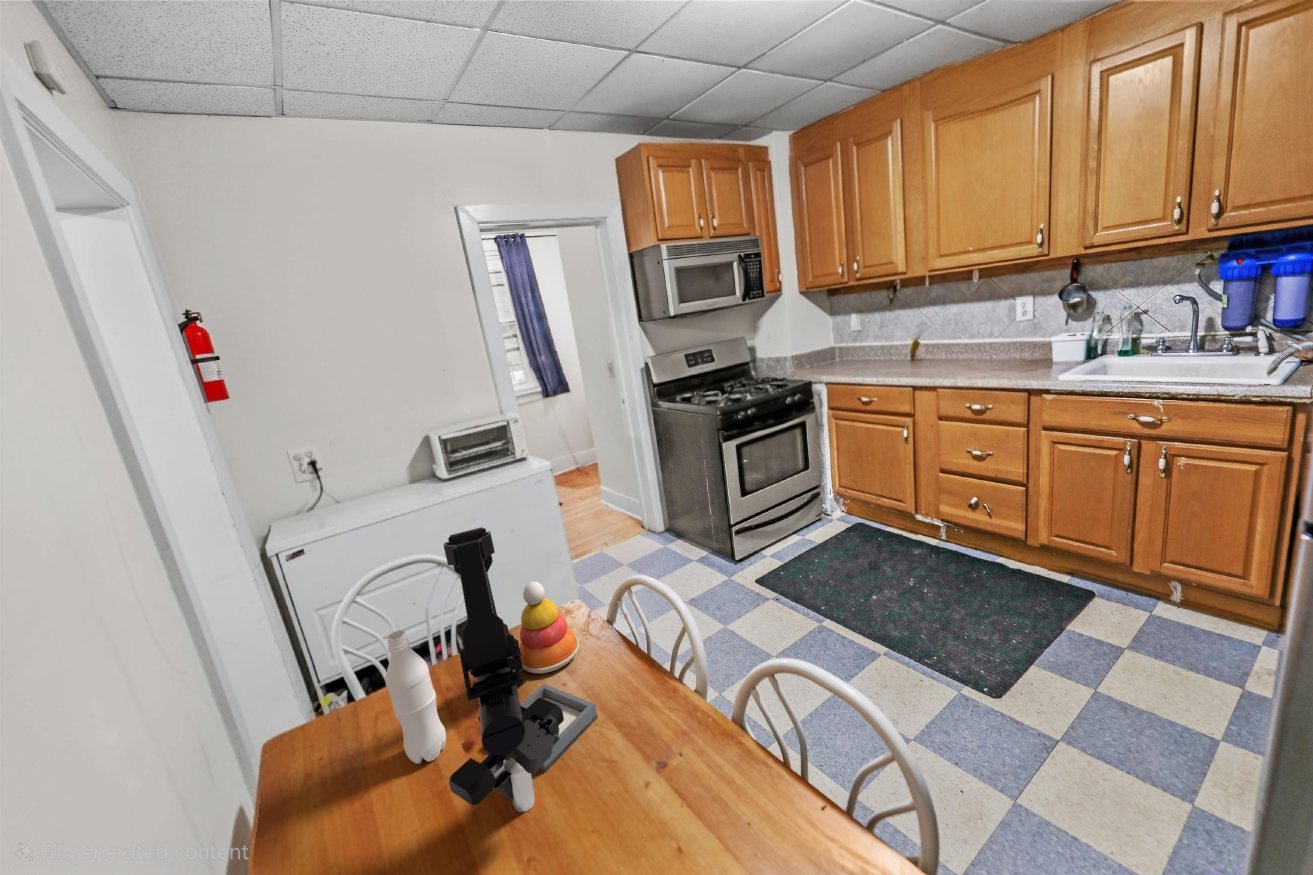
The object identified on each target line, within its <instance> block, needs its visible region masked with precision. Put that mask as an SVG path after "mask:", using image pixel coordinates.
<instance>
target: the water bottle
mask: <svg viewBox="0 0 1313 875" xmlns="http://www.w3.org/2000/svg"><path fill="white" fill-rule="evenodd" d="M386 639H387V644H388V645H387V646H388V653H390V659H389V663H388V666H387V670H386V674H385V687H386V689H387V690H388V694H389V698H390V701H391V704H392V710H393V714H394V717H395V719H397V720H398V722H399V724H400V726H401V727H400V728H401V730H402V735H403V742H402V743H403V749H404V752H405V755H406V756H407V757H408V759H409V760H410V761H411V762H413V763H414V764H418V765H419V764H422V762H423V760H425V762H432V761H434V760H436V759H437V758H438V756H439V755H440V754H441V750H444V748H445V746H446V744H447V743H446V742H447V732H446V729H445V726H444V724H443V722H442V721H441V720H440V717H439V714H438V709H437V695H436V691H435V689H434V687H433V683H432V678H431V675H430V671H429V670H430V669H429V666H428V664H427V661H426V660H425V659H424V658H422V657H421V656H420V655H419V654H418V653H416V652H415V651H414V650H413V649H412V647H411V646H410V645H411V641H410V640H409V638H408V637H407V632H406V631H405V630H402V629H401V630H395V631H393V632H391V633H390V634H389V635H387V638H386Z"/></svg>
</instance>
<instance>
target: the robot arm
mask: <svg viewBox="0 0 1313 875" xmlns="http://www.w3.org/2000/svg"><path fill="white" fill-rule="evenodd" d="M447 539H448V541H446V542H444V544H443V550H444V555H445V558H446V563H447V566H453V569H454V572H455V573H456V574H458V576H459V577H460V582H461V589H462V593H463V594H462V595H463V600H464V605H465V612H466V619H467V620H466V623H465V625H464V627H463V629H462V631H461V639H462V640H461V641H462V648H460V649H459V658H460V663H461V669H462V674H463V680H464V684H465V690H466V696H467V701H468V702H470V701H473V700H476V699H477V700H478V703H479V710H478V711H479V712H478V714H479V716H478V717H477V718H478V722H479V726H480V736H481V743H482V744H481V745H482V747H483V749H484V750H485V751H486V752H487V754H486V755H485V757H484V758H485V759H483V760H482V761H481V762H478V761H477V760H475V759H473V758H472V757H469V759H468V760H466V761H465V762H464V763H463V764H462V765H461V766H459V768H457V769H456V770H455V771H454V772H453V773H452V774H451V775H450V776H449V778H448V783H449V788H450V792H452V794H454V795H456V796H457V797H459V798H460V799H462V800H463V801H465V802H467V803H468V804H469V805H471V806H476V805H477V806H478V805H479V804H480V803H481V802H482V801H483V800H484V799H485V798H486V797H487V796H488V795H490V793H491V792H492V791H493V790H494V789H495V790H496V789H497V791H499V792H500V793H501V794H502V795H503V796H504V798H505V799H506V800H508V801H509V802H512V803H513V792H512V789H511V785H510V782H509V777H510V776H511V775H512V773H510V772H508V771H506V770H505V769H504V762H505V761H506V760H507V761H508V760H510V759H511V758H513V759H514V760H515V761H516V762H517V763H518V764H520V765H521V766H522V767H523V768H524V769H525V771H526V772H528V773H531V775H532V781H533V779H534V775H535V773H536V772H537V771H538V770H540V769H539V767H540V766H541V765H542V764H543V763H544V762H545V761H546V760H547V759H549V758H550V757H551V755H552V749H553V746H554V745H555V744H556V743H557V742H558V741H559V737H558V735H559V725H560V724H561V723H562V722H563V721H564V716H563V711H562V709H561V707H560V706H559V705H557V704H555V703H552V702H550V701H548V700H545V699H543V698H538V699H537V700H536V701H534V702H533V703H532V704H531V705H530V706H529V707H528V708H524V707H522V706H521V705H520V704H521V700H520V697H519V693H518V688H519V687H521V686H522V685H523V684H524V683H525V679H524V678H522V677H521V673H520V672H522V671H524V669H523V666H522V662H521V657H520V656H521V652H520V643H519V640H518V639H516V638H515V637H514V634H512V633H511V632H509V627H508V625H507V624H506V623H505V622H504V619H502V618H501V617H499V615H498V612H497V609H496V605H495V604H496V603H495V600H494V596H493V591H492V588H491V583H490V579H489V573H488V572H489V570H490V568H491V566H492V564H493V562H494V560H493V556H492V555H493V554H494V553H495V552H496V551H495V546H494V542H493V538H492V534H491V530H489V531H487V529H486V528H484V527H482V526H481V527H477V528H473V529H468V530H465V531H462V532H458V533H454V534H453V533H452V534H450V535H449V537H448V538H447ZM469 673H470V674H469ZM470 675H471V676H473V679H476V682H474V683H473V684H471V678H470ZM471 685H472V686H471Z"/></svg>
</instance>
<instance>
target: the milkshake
mask: <svg viewBox="0 0 1313 875" xmlns="http://www.w3.org/2000/svg"><path fill="white" fill-rule="evenodd" d="M504 769H505V770H506V771H508V772H510V773H512V775H511V776H510V777H509V782H510V785H511V789H512V792H513V801H512V805H513V807H514V810H516V811H517V812H519V813H526V812H528V811H529V810H531V809H532V808H533V806H534V805H535V802H536V801H535V800H536V798H535V790H534V784H533V783H534V782H533V780H532V775H531V773H528V772H526V771H525V769H524V768H523V767H522V766H521V765H520V764H518V763H517V762H516V761H515V760H514V759H513V758H511V759H510V760H508V761H507V760H506V761H505V762H504Z"/></svg>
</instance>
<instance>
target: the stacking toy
mask: <svg viewBox="0 0 1313 875" xmlns="http://www.w3.org/2000/svg"><path fill="white" fill-rule="evenodd" d="M545 592H546V591H545V588H544V586H543V585H542V584H541V583H540V582H537V581H531V582H529V583H527V585H525V587H524V589H523V592H522V594H523V595H522V596H523V599H524V600H523V601H525V603H527V604H526V605H525V607H524V608H523V610H522V613H521V617H520V619H521V620H520V621H521V628H520V631H519V633H520V634H519V636H520V637H519V638H520V643H519V648H520V652H521V656H520V657H521V662H522V666H523V671H526V672H528V673H532V674H540V675H541V674H545V673H551V672H553V671H557V670H559V669H560V668H563V667H564V666H566V665H568V664H569V663H570V662H572V661H573V659H574V658H575V657H576V656H577V653H578V651H579V648H580V639H579V638H578V636H576V635H575V634H574V632H573V631H572V629H571V628H570V627H569V625H568V623H567V620H566V619H565V617H564V616H563V614H561V613H560V610H559V608H558V606H557V605H556V604H555V602H553V601H552V600H550V599H548V598H546V597H545V596H546V593H545Z"/></svg>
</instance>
